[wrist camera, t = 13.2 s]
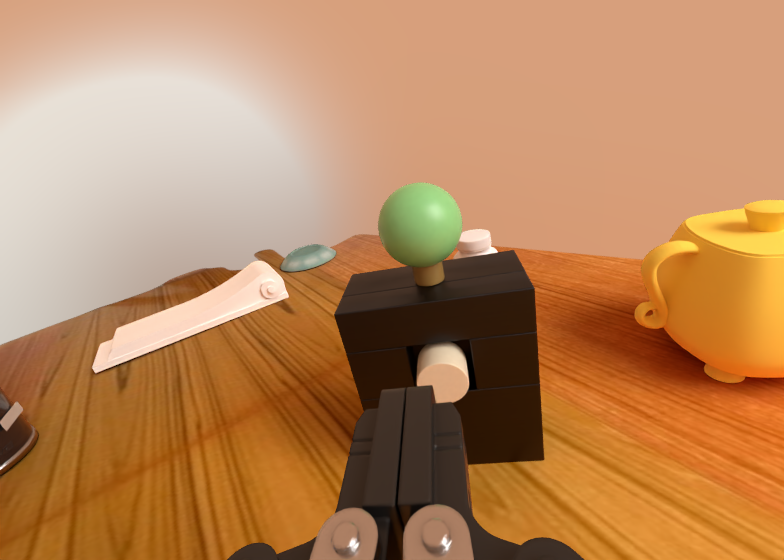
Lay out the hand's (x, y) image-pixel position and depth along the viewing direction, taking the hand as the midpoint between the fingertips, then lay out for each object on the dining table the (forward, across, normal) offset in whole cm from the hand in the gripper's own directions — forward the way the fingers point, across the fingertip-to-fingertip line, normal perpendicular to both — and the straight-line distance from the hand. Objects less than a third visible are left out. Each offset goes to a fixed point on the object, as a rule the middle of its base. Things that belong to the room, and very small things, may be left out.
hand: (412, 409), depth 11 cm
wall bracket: (+40, +40, +13) cm, 58 cm away
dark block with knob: (+14, 0, +17) cm, 22 cm away
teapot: (+21, -27, +17) cm, 38 cm away
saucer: (+62, +28, +15) cm, 70 cm away
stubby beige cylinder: (+11, 0, +9) cm, 14 cm away
